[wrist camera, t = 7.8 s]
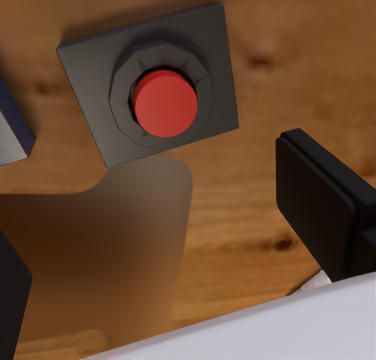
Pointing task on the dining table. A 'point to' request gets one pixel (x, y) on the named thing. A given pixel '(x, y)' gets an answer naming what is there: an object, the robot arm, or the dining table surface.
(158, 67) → the button box
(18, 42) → the dining table surface
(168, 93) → the button
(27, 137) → the handle panel
